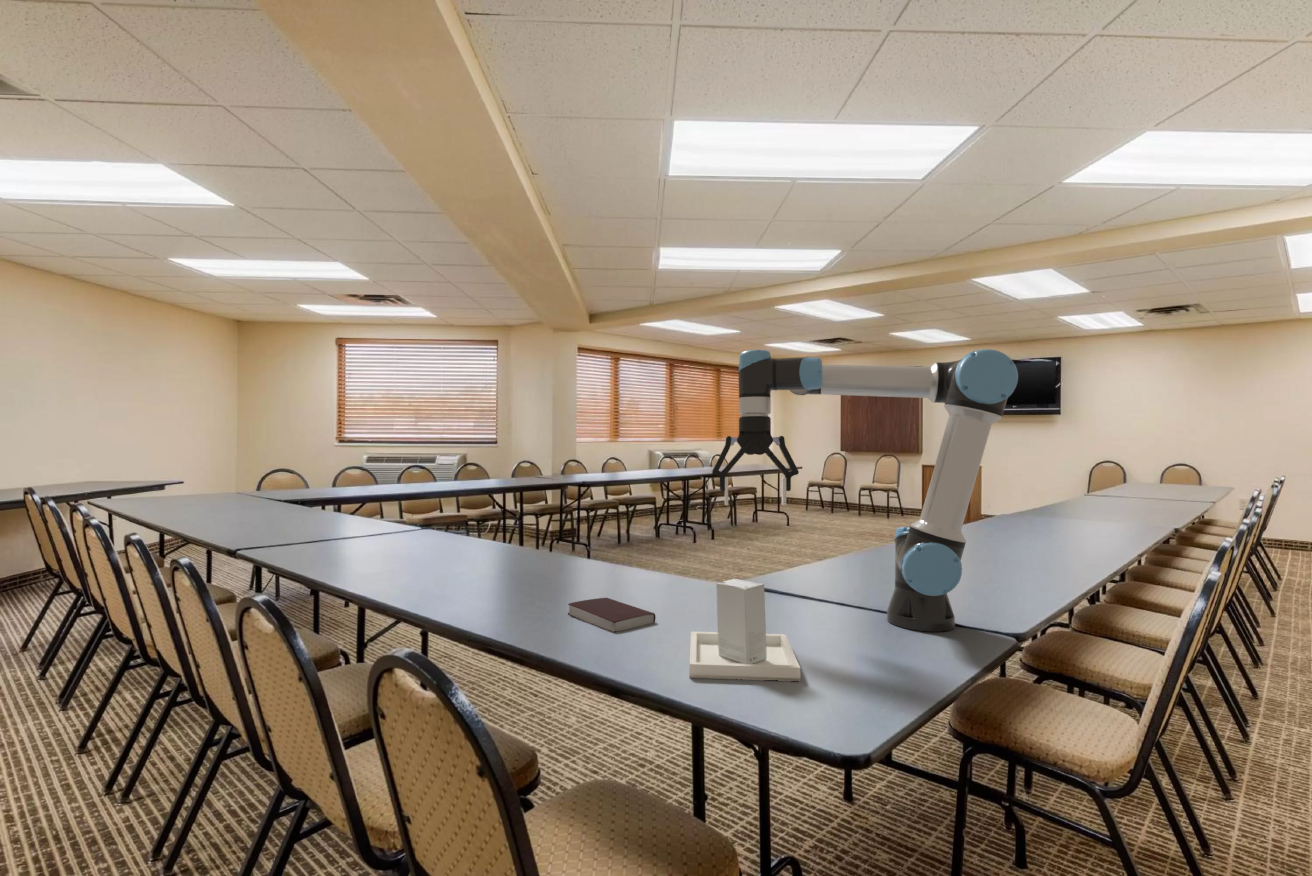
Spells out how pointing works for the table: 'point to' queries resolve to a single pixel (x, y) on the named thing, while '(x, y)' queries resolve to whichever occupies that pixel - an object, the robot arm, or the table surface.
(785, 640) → the tray
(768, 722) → the table surface
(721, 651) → the skincare box
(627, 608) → the book
